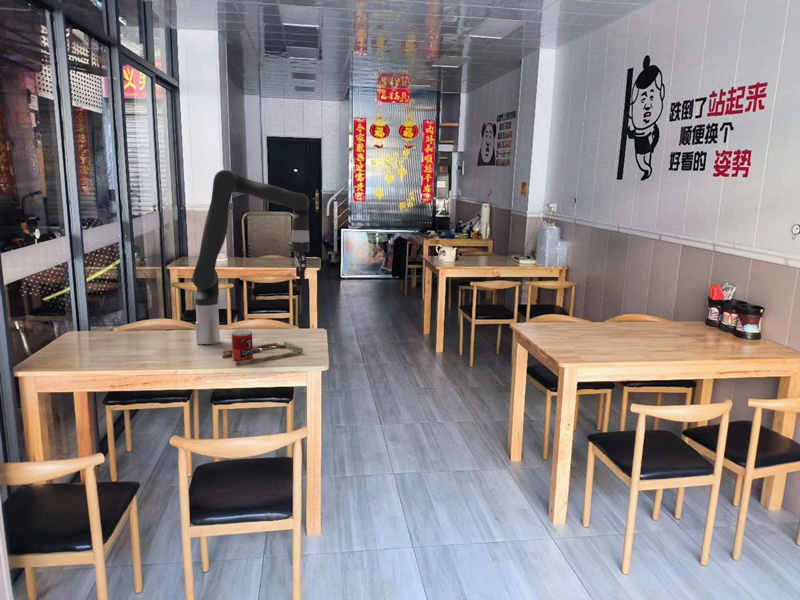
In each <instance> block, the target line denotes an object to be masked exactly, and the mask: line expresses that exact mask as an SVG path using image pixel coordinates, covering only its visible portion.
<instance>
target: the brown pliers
mask: <svg viewBox="0 0 800 600" xmlns="http://www.w3.org/2000/svg"><path fill="white" fill-rule="evenodd" d="M270 346H271V347H270ZM272 346H276V347H272ZM285 347H286V348H285ZM258 348H262V350H264V351H269V350H268V349H270V350H275V349H274V348H276V349H279V348H282V349H287V348H288V349H287V350H289V349H290V350H289V351H291V350H293V351H291V352H284V353H279V354H274V355H267V356H264V357H263V356H261V357H256V358H252V359H250V360H244V361H238V362H237V361H235V366H237V367H238V366H243V365H249V364H255V363H260V362H266V361H267V362H268V361H271V360H277V358H278V359H283V358H288V357H287V356H289V357H293V356H292V355H295V356H298V355H297V354H300V355H303V354H304V348H303V347H302V346H298V345H296V344H294V343H292V342H290V341H286V340H285V341H283V344H281V343H278V342H270V343H265V344H257V345H253V354H255V353H254V352H258V353H261V351H260V349H258ZM294 351H295V352H294ZM302 353H303V354H302ZM221 356H222V358H223V359H226V358H227V359H228V358H233V349H228V350H223V351H222V355H221ZM282 357H283V358H282Z"/></svg>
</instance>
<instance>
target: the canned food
mask: <svg viewBox="0 0 800 600" xmlns="http://www.w3.org/2000/svg"><path fill="white" fill-rule="evenodd" d="M231 345H232V349H233V356H232V359H233V361H234V362H238V361H244V360H250V359H254V353H253V346H254V345H253V332H252V330H249V329H239V330H234V331H232V332H231ZM232 349H231V350H232Z"/></svg>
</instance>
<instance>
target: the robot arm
mask: <svg viewBox="0 0 800 600" xmlns="http://www.w3.org/2000/svg"><path fill="white" fill-rule="evenodd" d="M233 193H239V194H245V195H249V196H252V197H254V198H257V199H260V200H263V201H266V202H269V203H271V204H276V205H280V206H285V207H287V208H289V209H292V219H291V220H292V221H291V235H290V236H291V239H290V240H291V252H293V253H294V266H295V276H296V277H298V278H299V280H300V281H301V280H305V279H306V270H307V256H306V255H305V253H309V252H310V231H309V230H310V229H309V226H310V225H309V210H310V200H309V197H308V196H307V195H306V194H305V193H300V192H295V191H290V190H287V189H286V188H283V187H279V186H275V185H272V184H268V183H263V182H260V181H255V180H252V179H249V178H247V177H244V176H241V175H240V174H238V173H236V172H234V171H232V170H230V169H222V170H219V171H217V172H216V173H215V175H214V177H213V182H212V192H211V200H210V204H209V208H208V211H207V215H206V219H205V223H204V227H203V231H202V237H201V242H200V248H199V255H198V259H197V261H196V264H195V268H194V271H193V274H192V283H193V285H194V286H195V287H196V296H195V299H194V300H195V313H196V315H195V316H196V321H195V336H196V345H202V344H207V345H208V344H210V345H216V344H218V343H220V341H221V336H220V320H219V319H220V318H219V316H220V315H219V293H220V292H219V291H220V290H219V289H220V287H219V274H218V272H217V270H216V264H217V259H218V257H219V254H220V252H221V250H222V248H223V246H224V244H225V240H226V237H227V231H228V228H229V227H228V226H229V206H230V202H231V199H232V195H233Z"/></svg>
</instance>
